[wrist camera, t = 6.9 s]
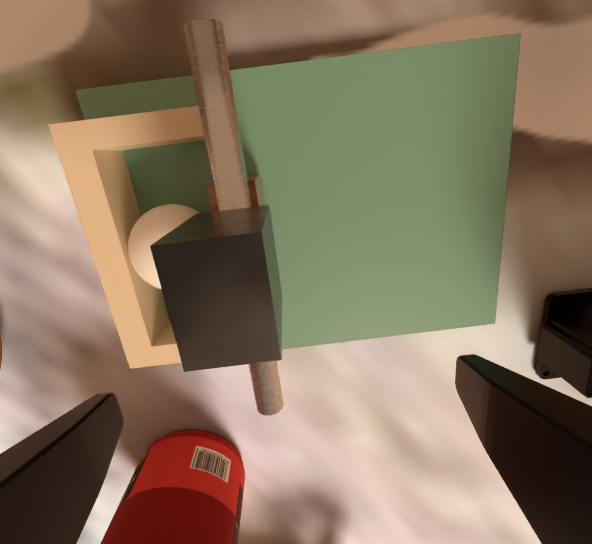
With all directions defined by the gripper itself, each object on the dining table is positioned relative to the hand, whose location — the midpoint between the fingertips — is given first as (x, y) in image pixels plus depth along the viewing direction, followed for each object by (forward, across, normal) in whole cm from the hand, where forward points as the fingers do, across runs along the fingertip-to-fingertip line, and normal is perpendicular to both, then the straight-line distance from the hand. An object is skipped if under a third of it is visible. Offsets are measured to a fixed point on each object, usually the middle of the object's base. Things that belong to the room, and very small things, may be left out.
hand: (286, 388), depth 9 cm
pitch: (+13, -2, -2) cm, 13 cm away
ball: (+9, +6, -2) cm, 11 cm away
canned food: (+13, +9, +16) cm, 23 cm away
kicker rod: (+11, +2, -2) cm, 11 cm away
